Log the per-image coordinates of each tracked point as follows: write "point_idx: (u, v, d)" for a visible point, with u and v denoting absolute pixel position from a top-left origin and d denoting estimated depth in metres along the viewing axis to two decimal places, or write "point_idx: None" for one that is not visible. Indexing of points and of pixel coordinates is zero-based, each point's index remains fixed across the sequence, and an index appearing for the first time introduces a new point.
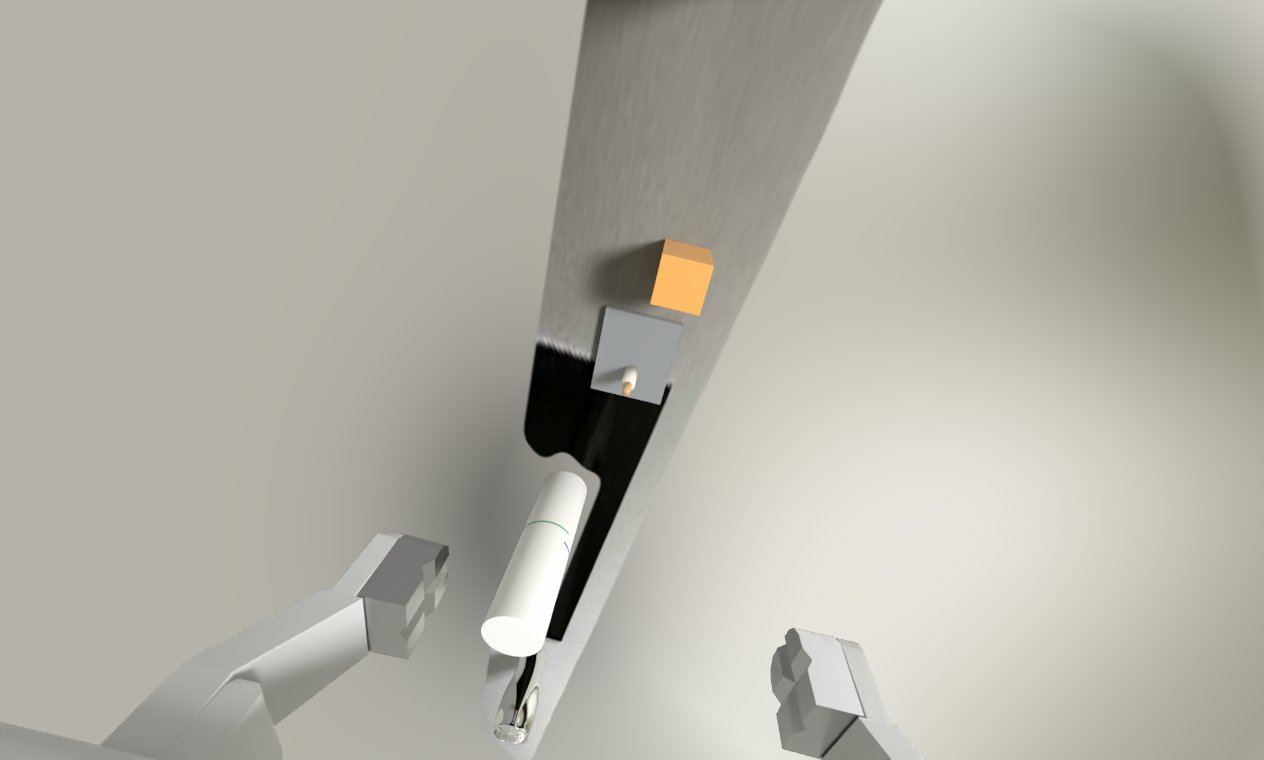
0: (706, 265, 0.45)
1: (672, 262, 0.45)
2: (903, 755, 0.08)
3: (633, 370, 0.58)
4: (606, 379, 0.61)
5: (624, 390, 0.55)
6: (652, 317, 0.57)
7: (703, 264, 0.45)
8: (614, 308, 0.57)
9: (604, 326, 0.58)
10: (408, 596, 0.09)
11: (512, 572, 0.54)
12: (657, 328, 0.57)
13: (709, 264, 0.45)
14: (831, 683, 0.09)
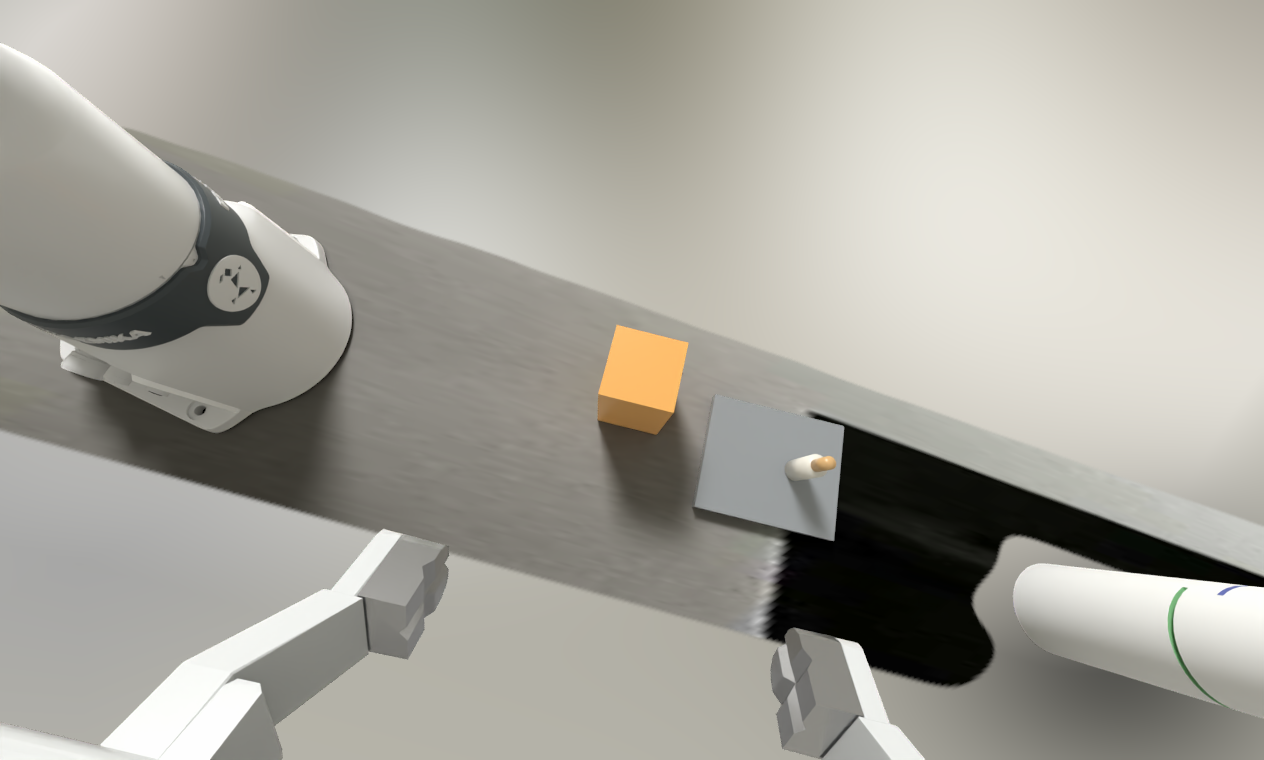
0: (616, 334, 0.32)
1: (611, 380, 0.31)
2: (903, 755, 0.08)
3: (792, 462, 0.37)
4: (814, 512, 0.38)
5: (826, 465, 0.33)
6: (706, 437, 0.39)
7: (614, 338, 0.32)
8: (696, 494, 0.38)
9: (725, 510, 0.37)
10: (408, 596, 0.09)
11: None
12: (722, 429, 0.39)
13: (615, 332, 0.33)
14: (831, 683, 0.09)
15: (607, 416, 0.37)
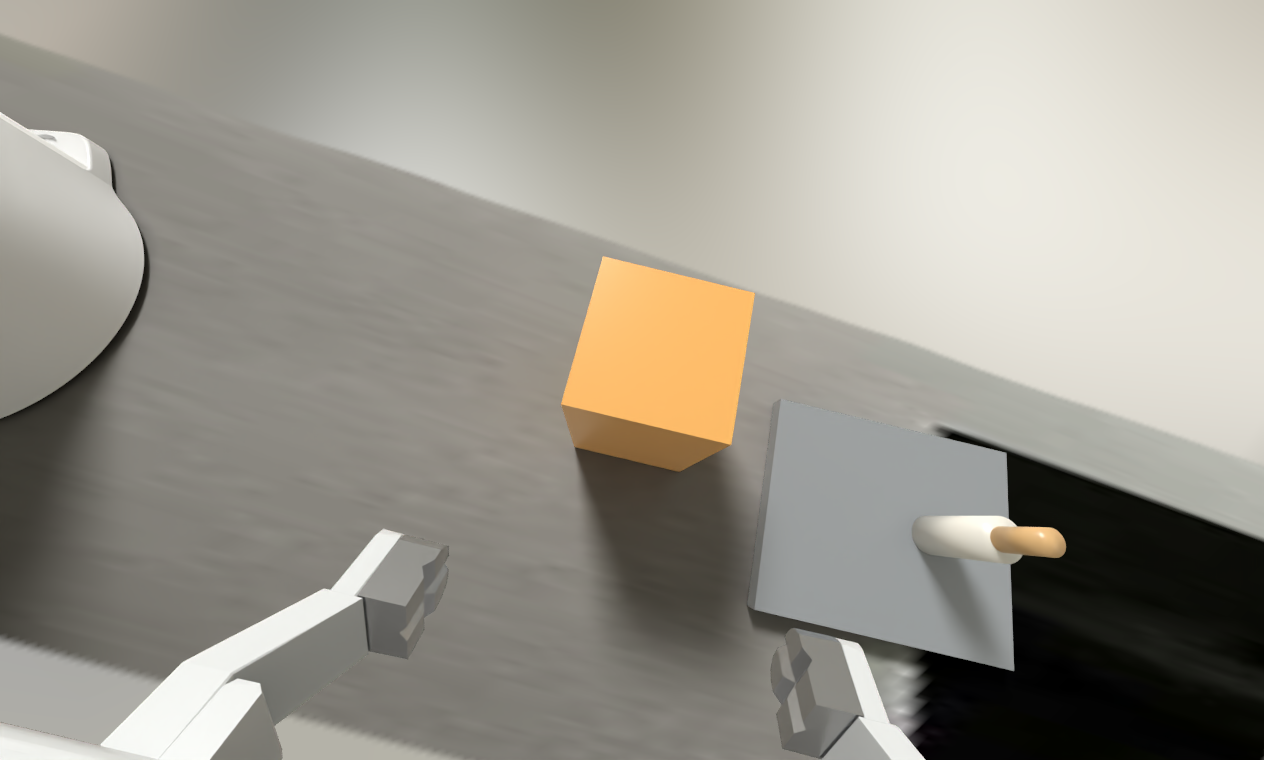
0: (601, 276, 0.15)
1: (590, 372, 0.14)
2: (903, 755, 0.08)
3: (933, 524, 0.20)
4: (972, 614, 0.20)
5: (1047, 548, 0.16)
6: (768, 476, 0.22)
7: (598, 284, 0.15)
8: (755, 583, 0.20)
9: (811, 616, 0.20)
10: (408, 596, 0.09)
11: None
12: (796, 461, 0.22)
13: None
14: (831, 683, 0.09)
15: (590, 443, 0.20)
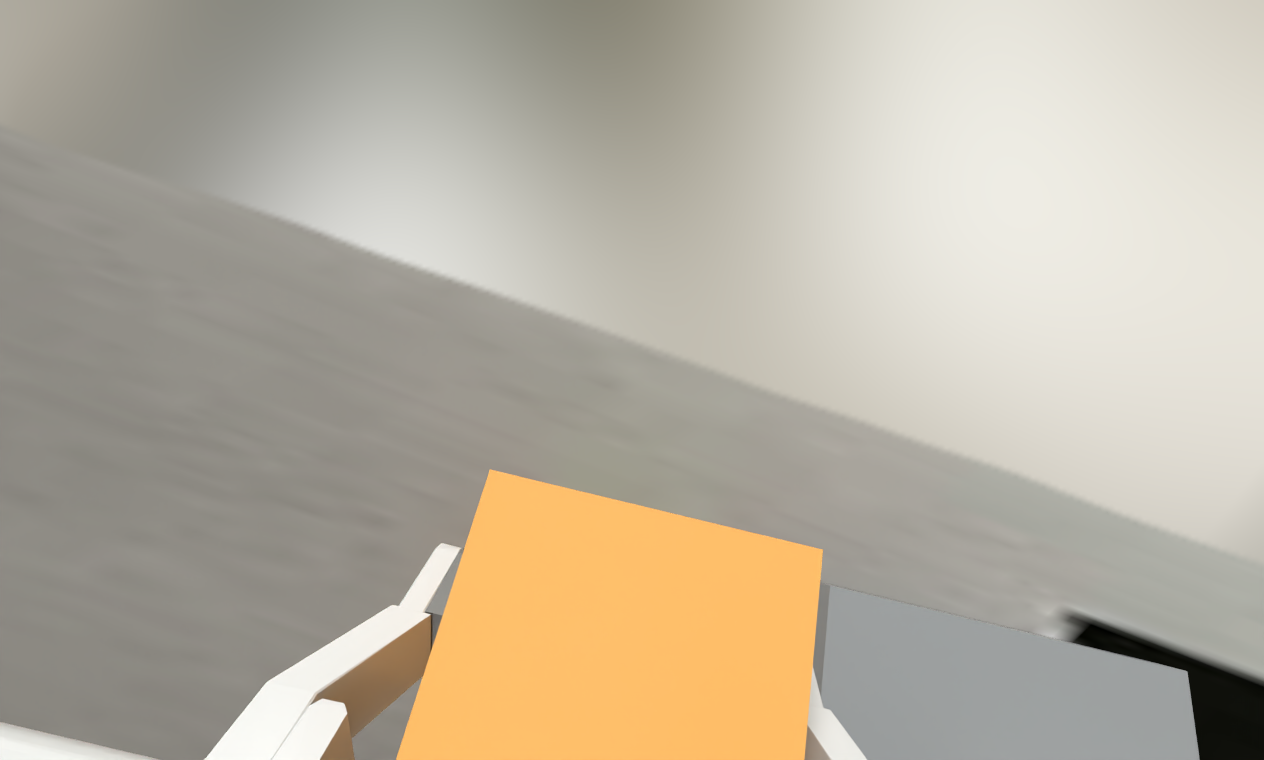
0: (481, 521, 0.07)
1: None
2: (832, 738, 0.08)
3: None
4: None
5: None
6: None
7: (473, 543, 0.07)
8: None
9: None
10: None
11: None
12: (858, 699, 0.14)
13: None
14: None
15: None
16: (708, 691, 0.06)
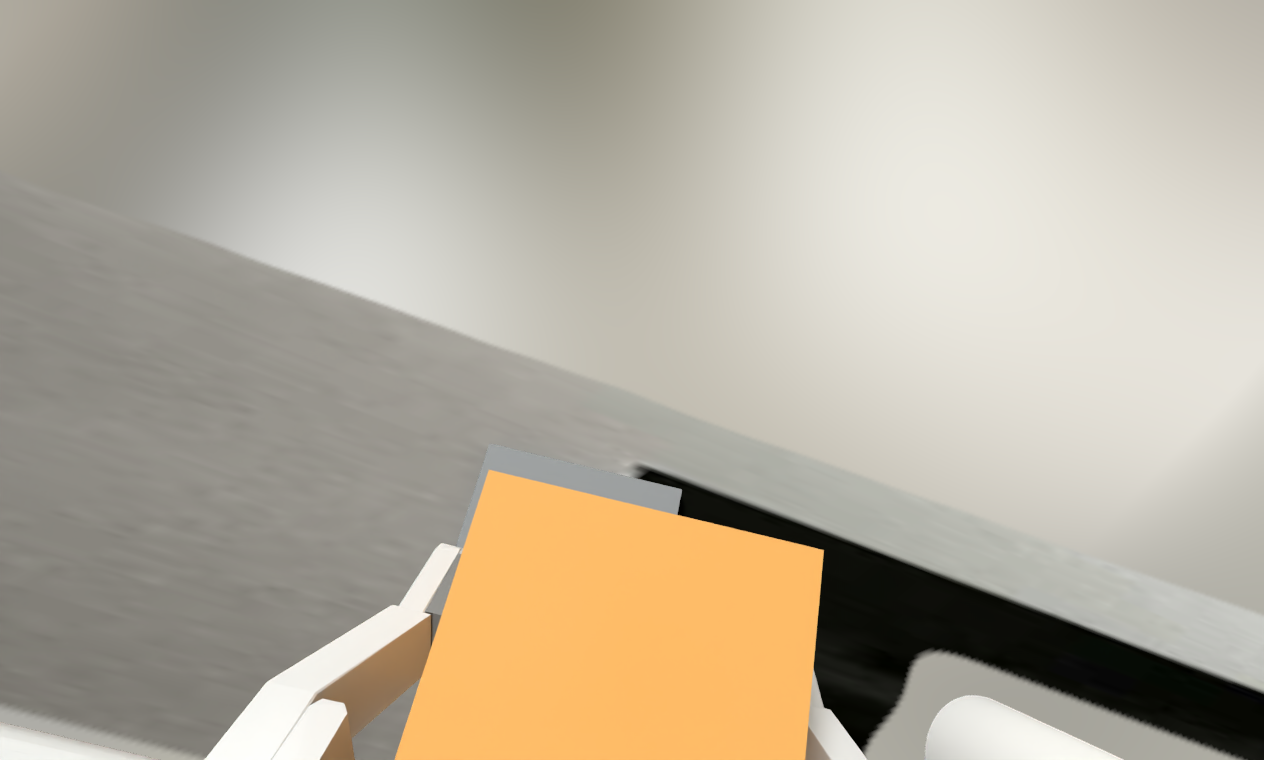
0: (480, 522, 0.07)
1: None
2: (832, 738, 0.08)
3: None
4: None
5: None
6: None
7: (472, 543, 0.07)
8: None
9: None
10: None
11: None
12: None
13: None
14: None
15: None
16: (708, 692, 0.06)
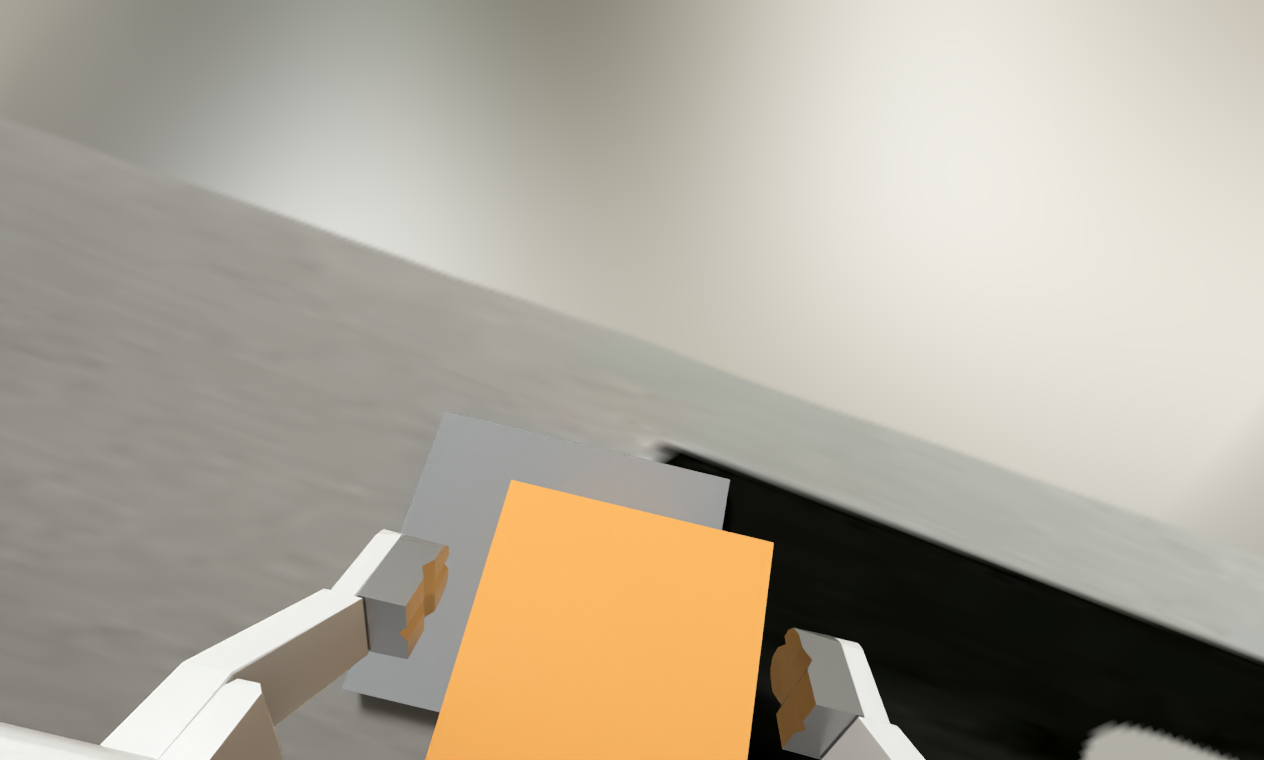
0: (505, 520, 0.09)
1: (472, 731, 0.08)
2: (903, 755, 0.08)
3: None
4: None
5: None
6: None
7: (499, 537, 0.09)
8: None
9: (418, 698, 0.15)
10: (408, 596, 0.09)
11: None
12: (446, 491, 0.17)
13: None
14: (831, 683, 0.09)
15: None
16: (681, 651, 0.08)
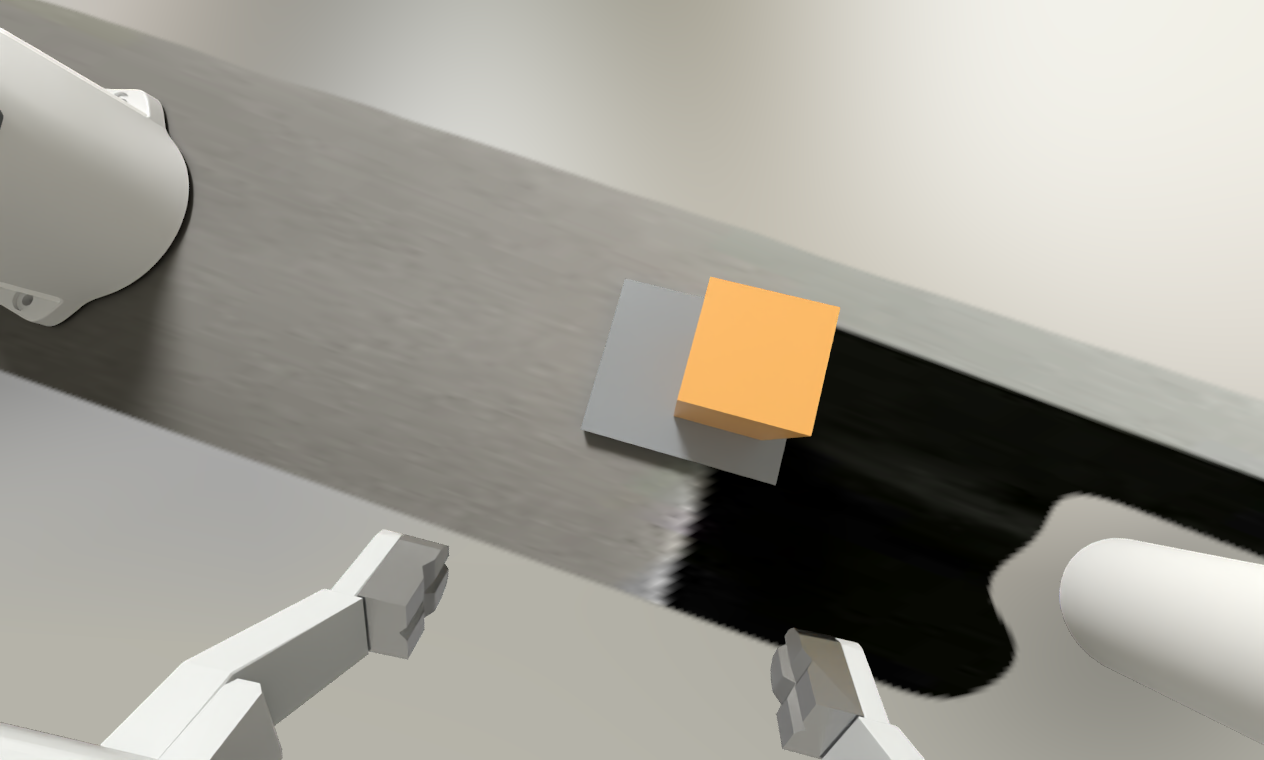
0: (708, 294, 0.19)
1: (699, 375, 0.18)
2: (903, 754, 0.08)
3: None
4: (751, 443, 0.26)
5: None
6: None
7: (706, 301, 0.19)
8: None
9: (622, 436, 0.27)
10: (408, 596, 0.09)
11: None
12: (629, 326, 0.28)
13: (707, 289, 0.19)
14: (831, 683, 0.09)
15: (689, 416, 0.24)
16: (791, 350, 0.18)
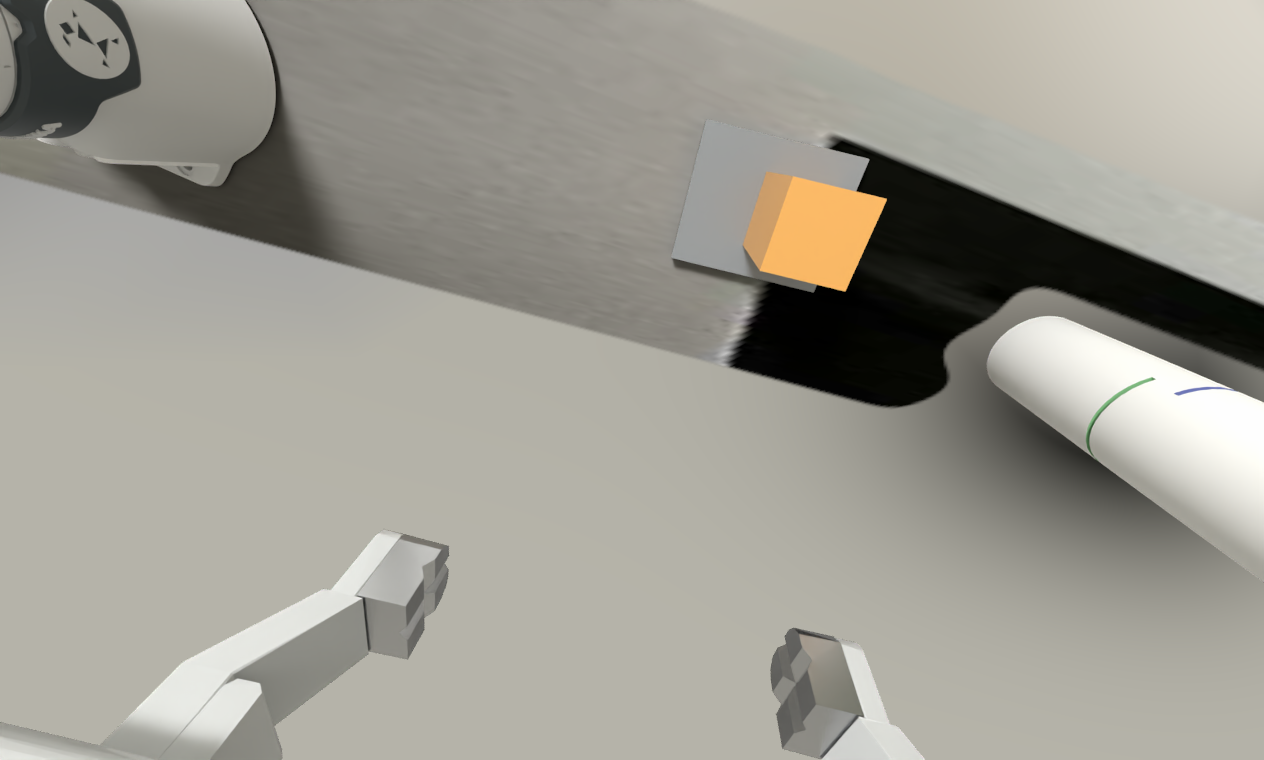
0: (790, 191, 0.25)
1: (777, 253, 0.27)
2: (903, 755, 0.08)
3: None
4: None
5: None
6: (691, 178, 0.34)
7: (787, 197, 0.25)
8: (674, 244, 0.36)
9: (702, 262, 0.36)
10: (408, 596, 0.09)
11: (1224, 541, 0.22)
12: (709, 168, 0.33)
13: (789, 185, 0.25)
14: (831, 683, 0.09)
15: None
16: (844, 234, 0.26)
